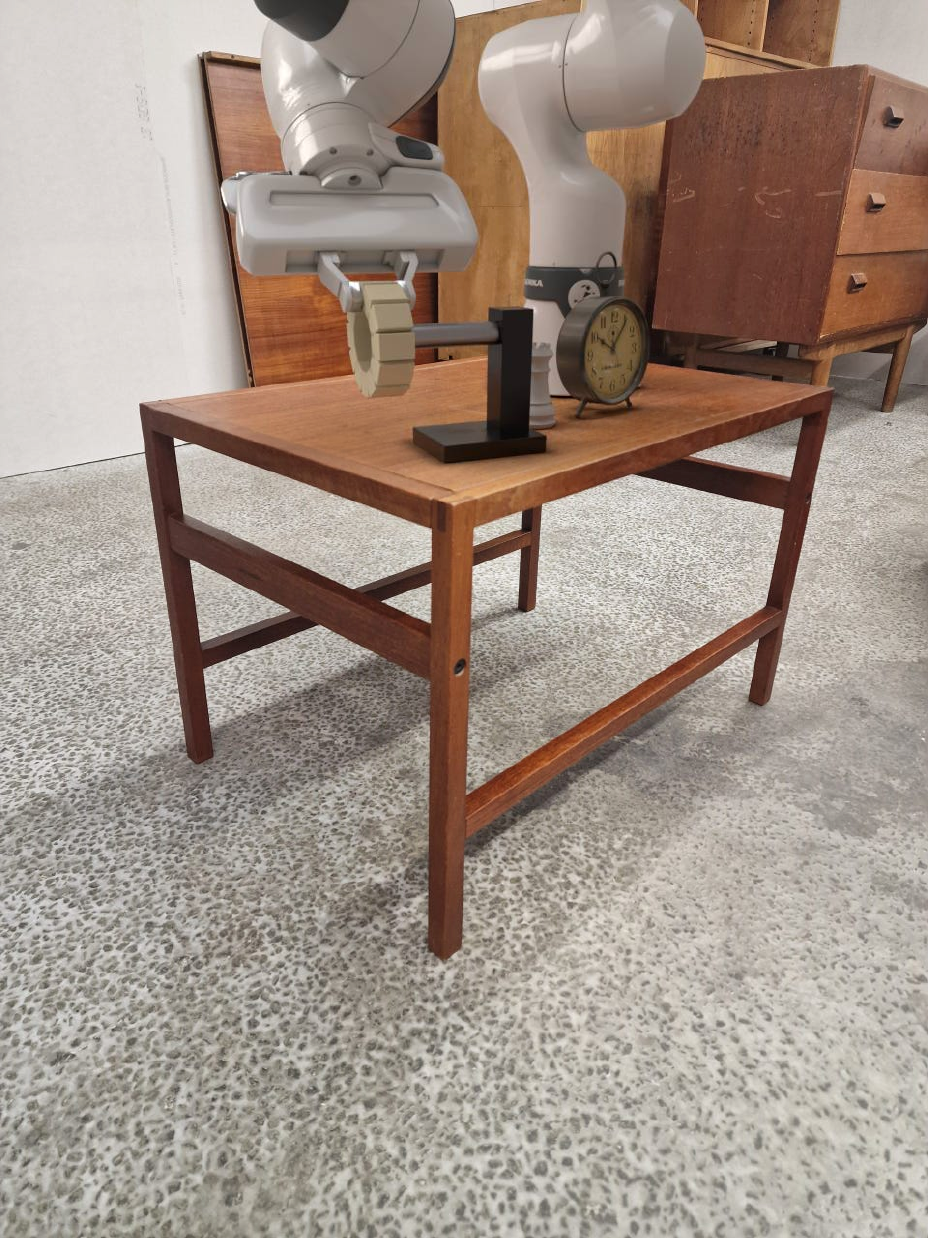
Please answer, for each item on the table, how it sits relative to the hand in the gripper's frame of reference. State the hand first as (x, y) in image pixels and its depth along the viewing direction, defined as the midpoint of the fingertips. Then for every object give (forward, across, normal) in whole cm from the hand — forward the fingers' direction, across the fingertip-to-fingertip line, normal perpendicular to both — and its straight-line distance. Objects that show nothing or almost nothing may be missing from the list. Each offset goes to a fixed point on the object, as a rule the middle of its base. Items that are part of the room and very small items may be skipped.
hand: (380, 306), depth 65 cm
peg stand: (+8, +7, +9) cm, 14 cm away
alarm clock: (+2, +28, +16) cm, 32 cm away
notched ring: (+5, 0, +6) cm, 7 cm away
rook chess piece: (+4, +18, +14) cm, 23 cm away
